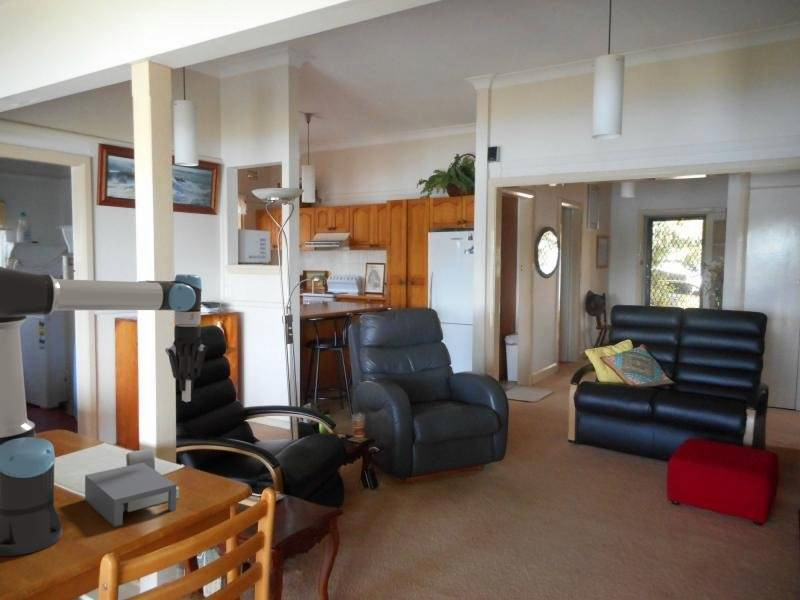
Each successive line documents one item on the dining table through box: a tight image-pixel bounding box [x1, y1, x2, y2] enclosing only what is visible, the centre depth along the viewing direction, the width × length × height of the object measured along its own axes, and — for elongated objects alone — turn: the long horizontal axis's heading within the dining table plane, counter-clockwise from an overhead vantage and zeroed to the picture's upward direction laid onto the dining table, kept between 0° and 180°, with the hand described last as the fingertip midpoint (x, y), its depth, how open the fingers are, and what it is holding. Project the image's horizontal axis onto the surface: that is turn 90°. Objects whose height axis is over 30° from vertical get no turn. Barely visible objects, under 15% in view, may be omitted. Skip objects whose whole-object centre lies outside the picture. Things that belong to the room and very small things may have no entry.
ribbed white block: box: [123, 485, 180, 513], centre depth 163 cm, size 14×9×3 cm, turn 136°
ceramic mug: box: [125, 447, 156, 471], centre depth 181 cm, size 11×8×8 cm
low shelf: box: [84, 463, 177, 528], centre depth 159 cm, size 16×22×7 cm
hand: (186, 400), depth 179 cm, fingers closed
